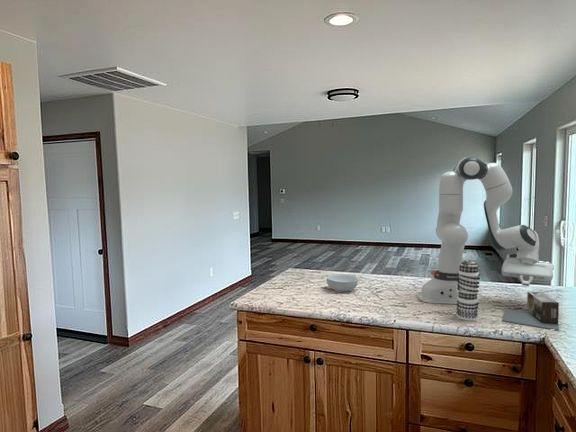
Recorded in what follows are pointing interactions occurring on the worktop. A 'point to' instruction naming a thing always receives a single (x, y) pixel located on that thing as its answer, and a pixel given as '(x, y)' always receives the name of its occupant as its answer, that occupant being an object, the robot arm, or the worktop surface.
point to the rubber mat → (525, 319)
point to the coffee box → (542, 307)
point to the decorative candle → (468, 290)
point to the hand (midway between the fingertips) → (525, 285)
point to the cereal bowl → (342, 282)
